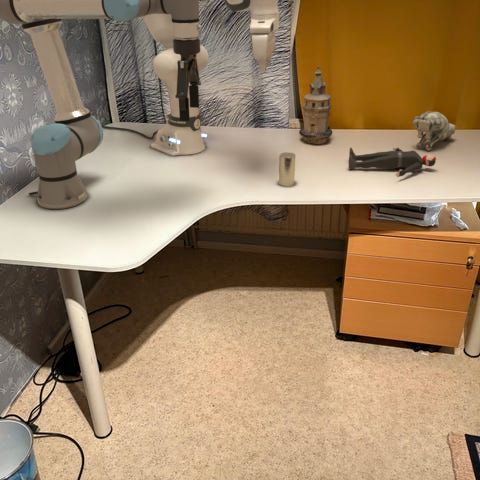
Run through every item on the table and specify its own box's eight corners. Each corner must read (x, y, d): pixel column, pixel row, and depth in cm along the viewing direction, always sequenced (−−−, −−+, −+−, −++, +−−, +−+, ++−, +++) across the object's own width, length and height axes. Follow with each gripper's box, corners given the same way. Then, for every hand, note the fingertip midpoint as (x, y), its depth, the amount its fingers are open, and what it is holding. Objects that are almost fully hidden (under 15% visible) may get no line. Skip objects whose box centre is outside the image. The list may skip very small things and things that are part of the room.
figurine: (442, 162, 206) (466, 135, 215) (430, 119, 197) (456, 92, 206) (420, 162, 213) (444, 135, 222) (407, 120, 205) (433, 94, 213)
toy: (350, 139, 204) (432, 140, 198) (349, 155, 207) (431, 156, 201) (348, 164, 182) (441, 166, 176) (347, 181, 185) (438, 183, 179)
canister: (285, 187, 179) (286, 159, 174) (275, 182, 183) (276, 154, 178) (297, 183, 182) (298, 155, 177) (287, 179, 186) (288, 151, 181)
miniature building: (320, 132, 228) (325, 59, 214) (338, 142, 217) (344, 66, 203) (293, 137, 224) (296, 63, 209) (310, 147, 213) (314, 69, 198)
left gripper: (190, 46, 137) (193, 127, 147) (207, 31, 158) (209, 102, 169) (161, 45, 138) (167, 126, 148) (183, 30, 159) (186, 101, 170)
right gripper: (260, 19, 177) (261, 63, 184) (248, 28, 159) (249, 75, 166) (279, 19, 176) (279, 63, 182) (269, 28, 158) (269, 75, 165)
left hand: (189, 113), depth 159 cm, fingers open, 13 cm apart
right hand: (265, 69), depth 174 cm, fingers open, 8 cm apart
